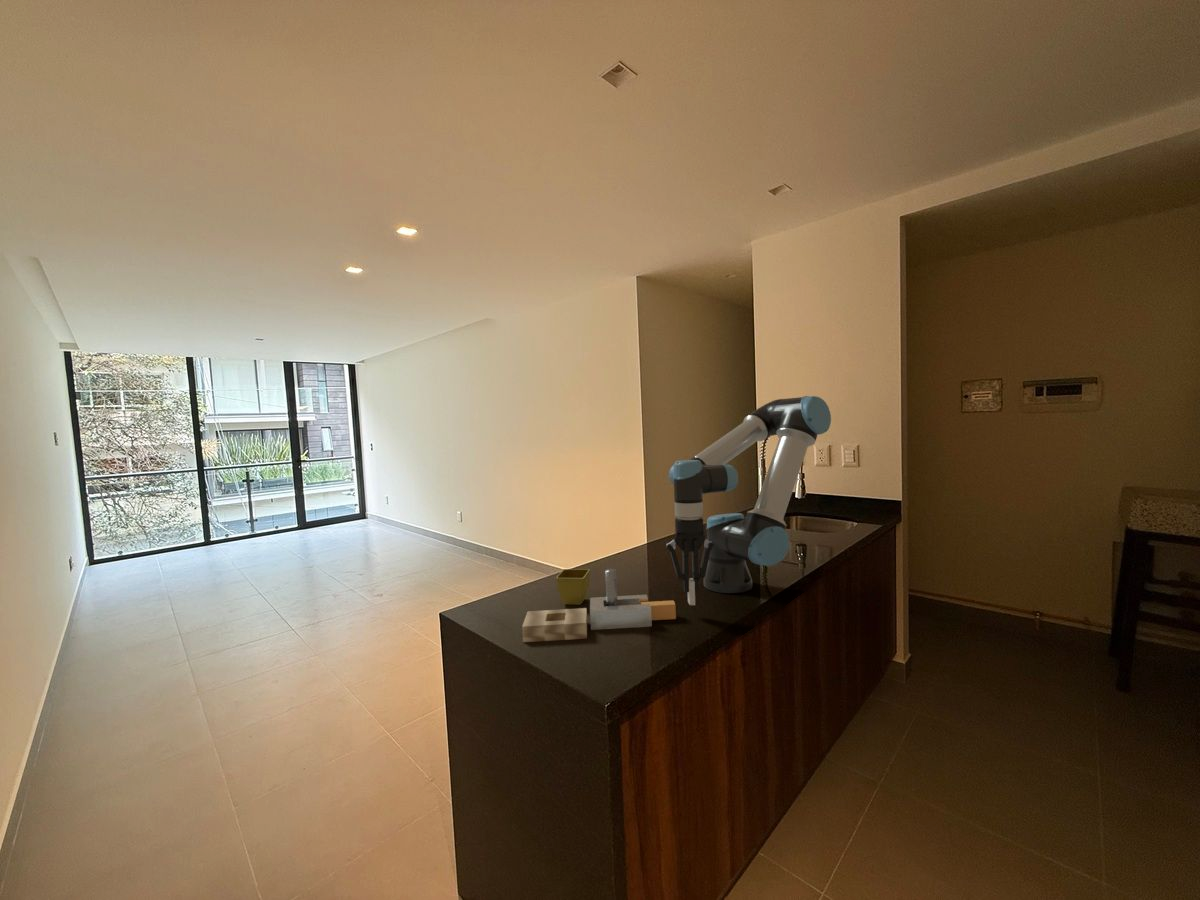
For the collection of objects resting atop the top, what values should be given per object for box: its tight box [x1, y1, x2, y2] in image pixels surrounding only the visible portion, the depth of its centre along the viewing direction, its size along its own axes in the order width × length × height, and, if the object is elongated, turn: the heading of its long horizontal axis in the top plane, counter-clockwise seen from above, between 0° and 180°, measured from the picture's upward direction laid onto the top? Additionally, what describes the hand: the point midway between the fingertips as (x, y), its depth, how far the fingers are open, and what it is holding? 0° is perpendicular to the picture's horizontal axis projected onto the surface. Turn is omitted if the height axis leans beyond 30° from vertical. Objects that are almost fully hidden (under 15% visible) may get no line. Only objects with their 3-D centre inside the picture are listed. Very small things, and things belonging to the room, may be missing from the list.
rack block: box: [521, 607, 588, 643], centre depth 124 cm, size 16×10×4 cm, turn 91°
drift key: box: [641, 600, 677, 621], centre depth 130 cm, size 9×3×4 cm, turn 91°
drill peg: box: [604, 568, 618, 606], centre depth 129 cm, size 3×3×14 cm
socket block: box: [589, 594, 653, 631], centre depth 129 cm, size 16×10×5 cm, turn 91°
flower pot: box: [555, 568, 591, 606], centre depth 145 cm, size 9×9×9 cm
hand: (691, 603), depth 129 cm, fingers closed
